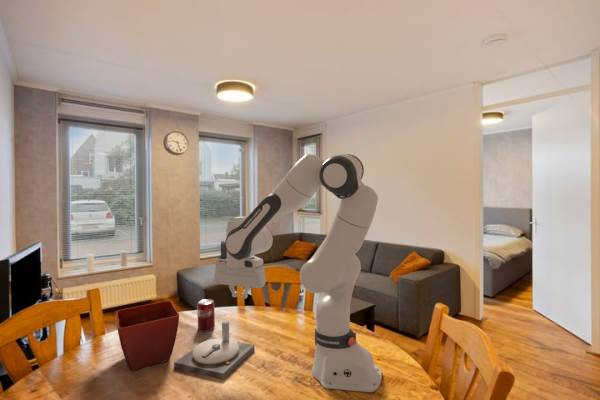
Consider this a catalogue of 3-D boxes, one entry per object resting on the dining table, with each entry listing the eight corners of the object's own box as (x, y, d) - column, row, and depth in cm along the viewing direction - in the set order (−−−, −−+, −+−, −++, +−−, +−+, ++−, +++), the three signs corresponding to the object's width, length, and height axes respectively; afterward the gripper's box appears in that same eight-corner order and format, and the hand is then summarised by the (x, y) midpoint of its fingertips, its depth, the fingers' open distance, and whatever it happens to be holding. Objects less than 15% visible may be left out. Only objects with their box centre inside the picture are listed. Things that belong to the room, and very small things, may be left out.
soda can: (209, 332, 133) (209, 305, 133) (194, 331, 135) (194, 304, 135) (217, 325, 141) (217, 299, 140) (203, 324, 142) (202, 298, 142)
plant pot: (118, 379, 100) (117, 328, 100) (117, 354, 116) (115, 310, 116) (181, 362, 110) (179, 315, 110) (171, 341, 126) (170, 300, 126)
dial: (247, 345, 116) (246, 323, 116) (221, 368, 101) (221, 342, 101) (211, 339, 122) (211, 317, 122) (182, 359, 107) (182, 335, 107)
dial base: (254, 350, 118) (254, 343, 118) (223, 379, 99) (223, 372, 99) (210, 342, 125) (210, 335, 125) (174, 368, 106) (174, 360, 106)
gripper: (210, 260, 115) (211, 297, 116) (258, 263, 108) (259, 303, 108) (220, 257, 121) (221, 292, 121) (267, 260, 114) (267, 297, 114)
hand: (239, 297), depth 115 cm, fingers open, 3 cm apart
